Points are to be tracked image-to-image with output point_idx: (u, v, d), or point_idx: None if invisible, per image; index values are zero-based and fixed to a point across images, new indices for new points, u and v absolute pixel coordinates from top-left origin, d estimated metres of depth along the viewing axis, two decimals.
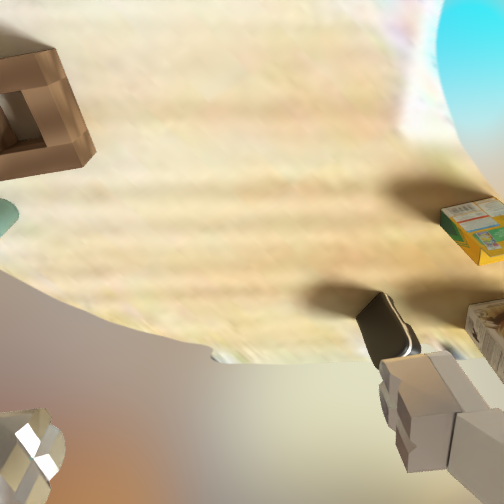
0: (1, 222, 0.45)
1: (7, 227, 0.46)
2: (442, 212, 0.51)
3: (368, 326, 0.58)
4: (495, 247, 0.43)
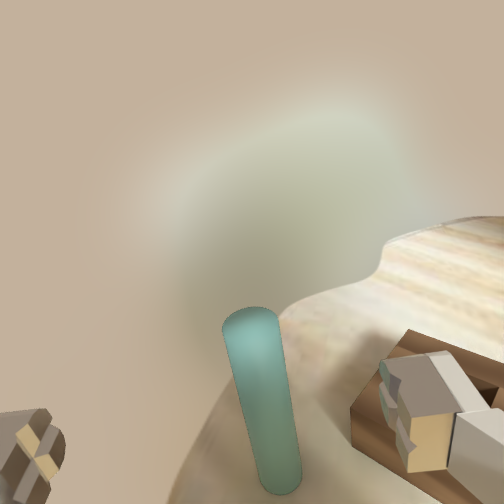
0: (294, 455, 0.28)
1: (283, 471, 0.28)
2: None
3: None
4: None
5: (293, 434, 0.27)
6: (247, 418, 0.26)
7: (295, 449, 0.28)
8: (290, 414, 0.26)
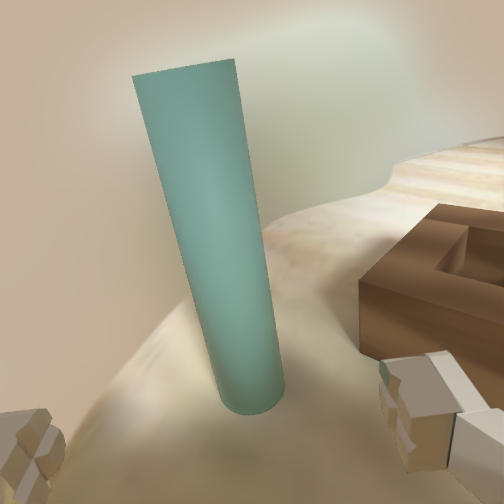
0: (270, 345, 0.18)
1: (252, 370, 0.18)
2: None
3: None
4: None
5: (267, 306, 0.17)
6: (188, 265, 0.15)
7: (271, 336, 0.18)
8: (261, 265, 0.16)
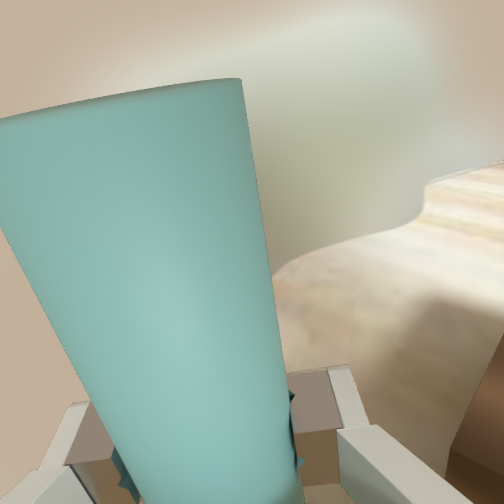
0: None
1: None
2: None
3: None
4: None
5: None
6: (144, 502, 0.07)
7: None
8: (293, 485, 0.08)
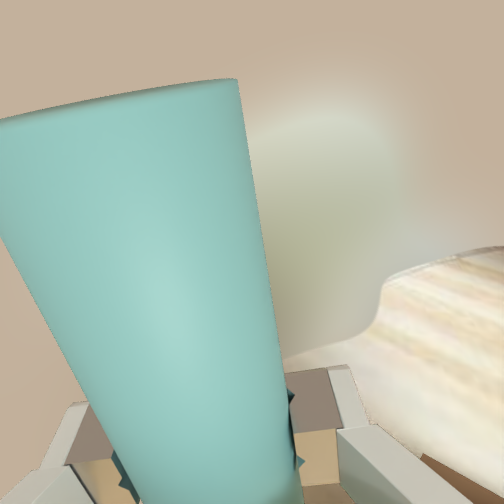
0: None
1: None
2: None
3: None
4: None
5: None
6: (143, 503, 0.07)
7: None
8: (292, 485, 0.08)
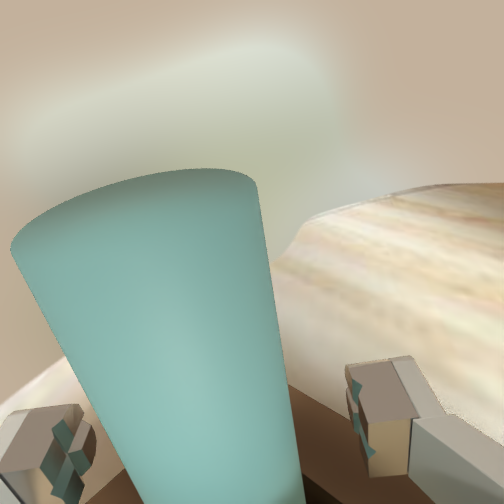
0: None
1: None
2: None
3: None
4: None
5: None
6: None
7: None
8: None
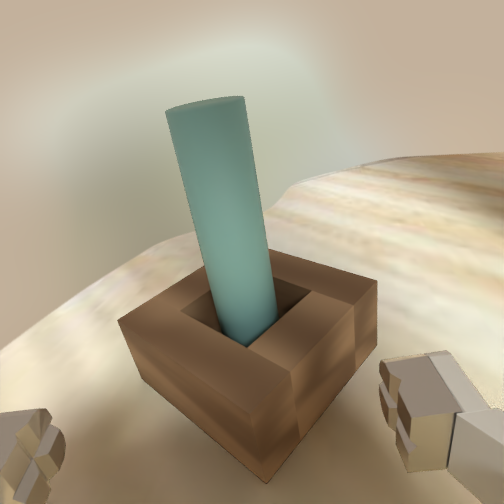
0: None
1: None
2: None
3: None
4: None
5: (271, 292, 0.21)
6: (207, 259, 0.19)
7: (274, 318, 0.21)
8: (265, 258, 0.20)
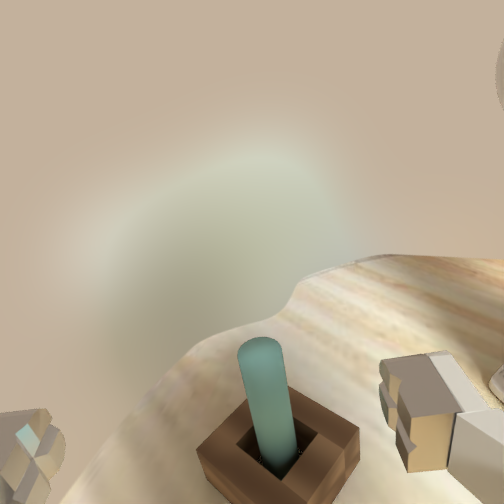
0: (294, 455, 0.35)
1: (285, 468, 0.34)
2: None
3: None
4: None
5: (293, 438, 0.34)
6: (256, 425, 0.32)
7: (295, 451, 0.35)
8: (291, 422, 0.33)
